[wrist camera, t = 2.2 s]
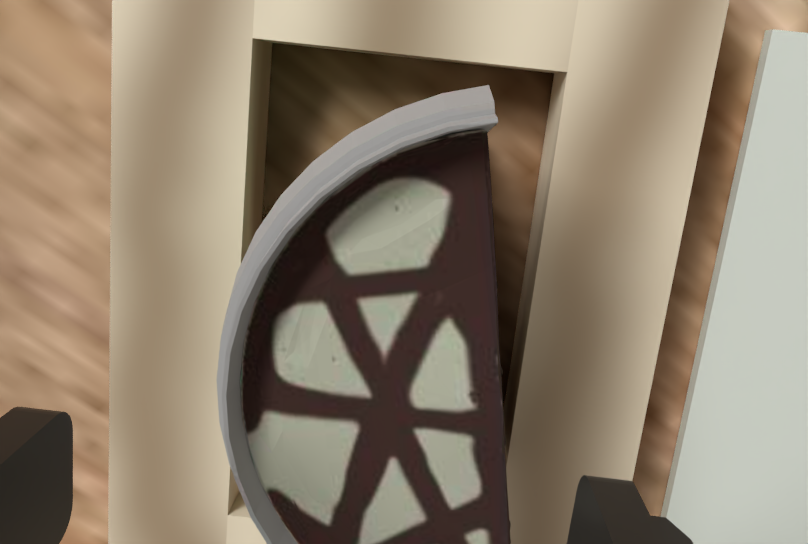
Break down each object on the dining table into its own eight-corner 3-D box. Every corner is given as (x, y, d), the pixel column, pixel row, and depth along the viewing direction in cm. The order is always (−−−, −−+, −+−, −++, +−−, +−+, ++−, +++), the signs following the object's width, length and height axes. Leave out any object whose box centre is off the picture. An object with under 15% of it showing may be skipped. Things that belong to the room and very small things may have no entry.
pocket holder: (702, -14, 21) (734, -26, 19) (586, 589, 26) (600, 638, 24) (148, -72, 22) (112, -91, 19) (137, 533, 27) (107, 577, 24)
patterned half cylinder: (269, 102, 23) (141, 115, 13) (472, 84, 22) (496, 85, 13) (315, 468, 26) (238, 702, 16) (495, 459, 25) (528, 694, 16)
